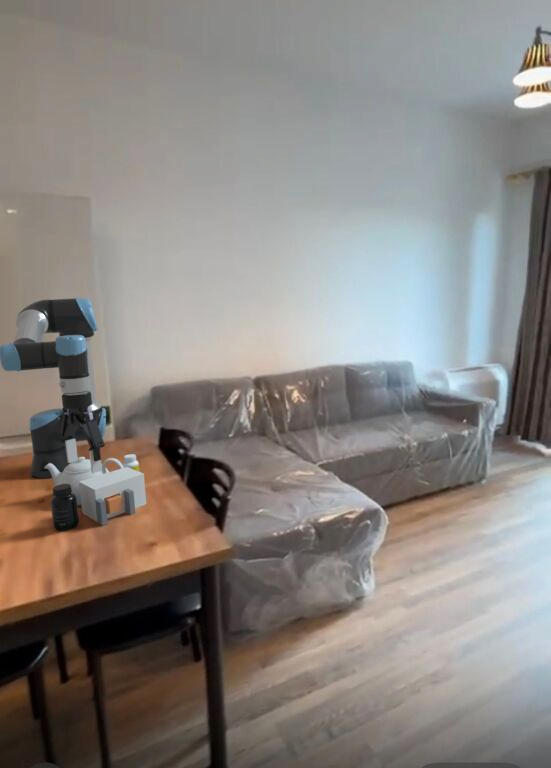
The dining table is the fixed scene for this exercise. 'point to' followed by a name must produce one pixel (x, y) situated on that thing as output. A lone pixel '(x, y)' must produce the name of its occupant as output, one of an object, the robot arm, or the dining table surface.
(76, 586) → the dining table surface
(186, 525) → the dining table surface
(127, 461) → the supplement bottle
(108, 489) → the box
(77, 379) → the robot arm
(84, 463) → the teapot
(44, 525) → the dining table surface
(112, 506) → the block
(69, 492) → the supplement bottle
